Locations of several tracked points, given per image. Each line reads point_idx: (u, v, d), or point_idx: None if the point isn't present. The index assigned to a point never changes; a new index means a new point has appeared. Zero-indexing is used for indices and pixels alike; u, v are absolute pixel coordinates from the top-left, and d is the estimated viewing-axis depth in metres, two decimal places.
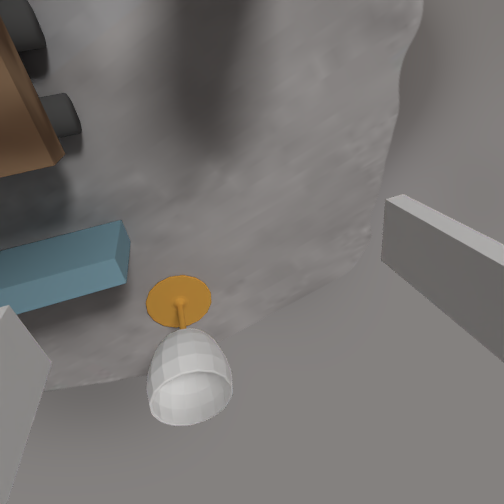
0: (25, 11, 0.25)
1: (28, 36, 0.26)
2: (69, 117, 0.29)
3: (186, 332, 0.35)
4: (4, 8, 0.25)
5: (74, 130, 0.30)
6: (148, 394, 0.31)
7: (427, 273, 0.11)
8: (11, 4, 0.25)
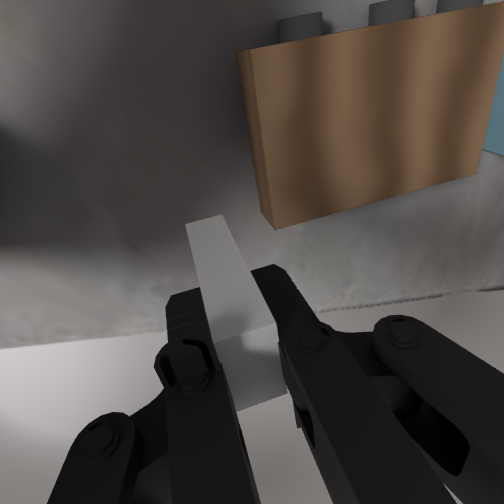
0: None
1: None
2: None
3: None
4: None
5: None
6: None
7: None
8: None
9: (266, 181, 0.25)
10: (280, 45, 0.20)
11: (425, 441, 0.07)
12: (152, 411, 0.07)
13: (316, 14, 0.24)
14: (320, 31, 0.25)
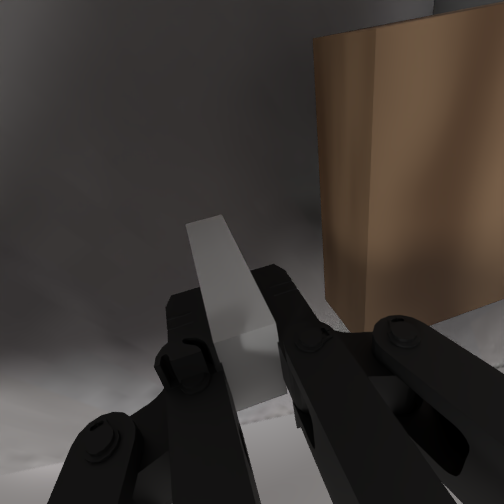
0: None
1: None
2: None
3: None
4: None
5: None
6: None
7: None
8: None
9: (359, 276, 0.14)
10: (439, 19, 0.09)
11: (425, 441, 0.07)
12: (152, 411, 0.07)
13: None
14: None
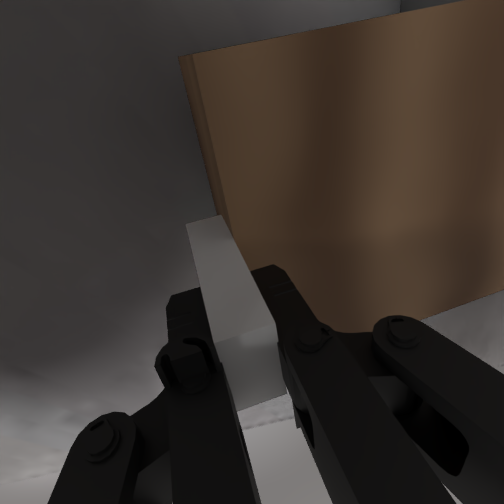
0: None
1: None
2: None
3: None
4: None
5: None
6: None
7: None
8: None
9: None
10: (268, 43, 0.08)
11: (424, 441, 0.07)
12: (153, 411, 0.07)
13: None
14: None
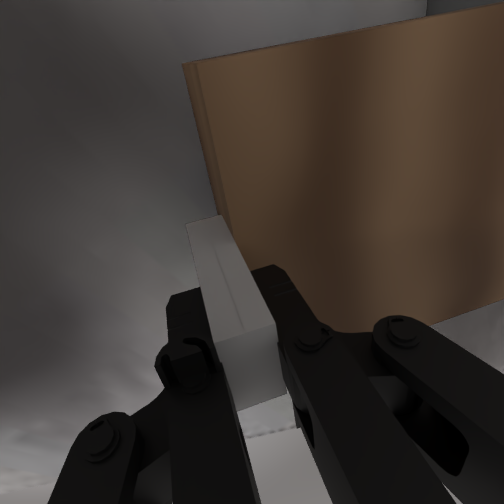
0: None
1: None
2: None
3: None
4: None
5: None
6: None
7: None
8: None
9: None
10: (272, 52, 0.08)
11: (424, 441, 0.07)
12: (152, 411, 0.07)
13: None
14: None
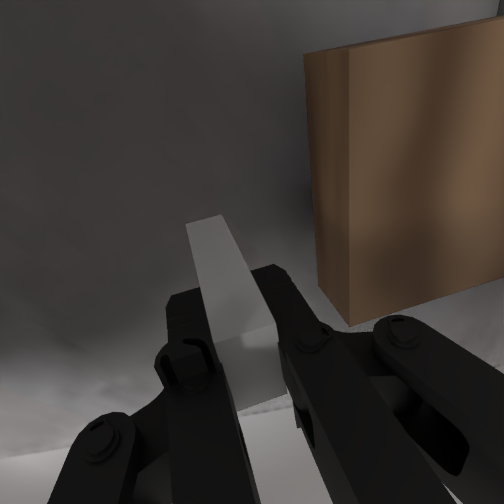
0: None
1: None
2: None
3: None
4: None
5: None
6: None
7: None
8: None
9: (343, 259, 0.16)
10: (401, 41, 0.11)
11: (425, 441, 0.07)
12: (152, 411, 0.07)
13: None
14: None
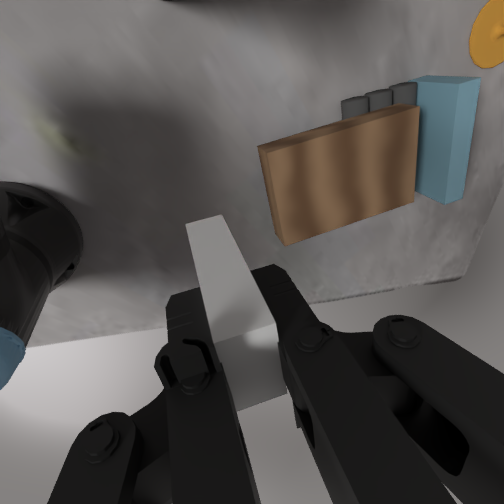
0: (387, 90, 0.44)
1: None
2: (412, 85, 0.43)
3: None
4: None
5: (416, 84, 0.44)
6: None
7: None
8: None
9: (278, 218, 0.42)
10: (283, 149, 0.37)
11: (425, 441, 0.07)
12: (152, 411, 0.07)
13: (355, 97, 0.45)
14: None
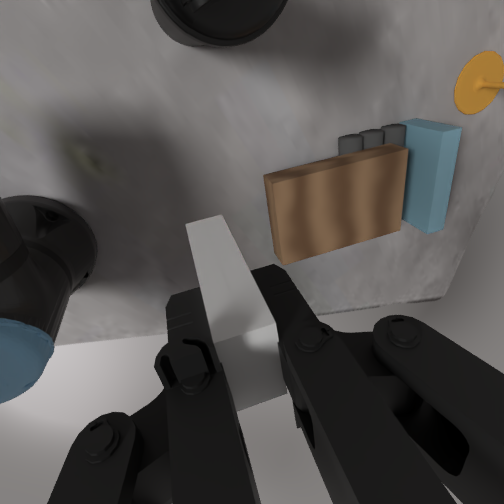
0: (380, 131, 0.49)
1: None
2: (401, 128, 0.48)
3: None
4: None
5: (405, 127, 0.49)
6: None
7: None
8: (383, 135, 0.49)
9: (278, 240, 0.47)
10: (287, 180, 0.42)
11: (425, 441, 0.07)
12: (152, 411, 0.07)
13: (352, 134, 0.50)
14: None
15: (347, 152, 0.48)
